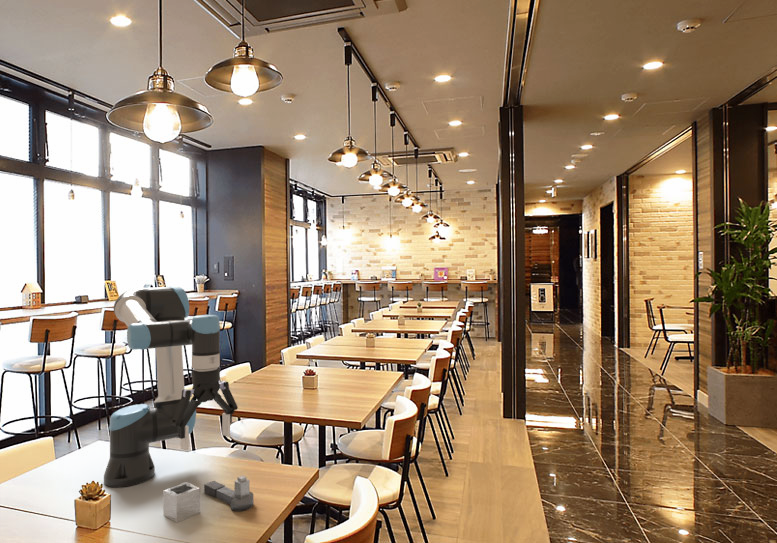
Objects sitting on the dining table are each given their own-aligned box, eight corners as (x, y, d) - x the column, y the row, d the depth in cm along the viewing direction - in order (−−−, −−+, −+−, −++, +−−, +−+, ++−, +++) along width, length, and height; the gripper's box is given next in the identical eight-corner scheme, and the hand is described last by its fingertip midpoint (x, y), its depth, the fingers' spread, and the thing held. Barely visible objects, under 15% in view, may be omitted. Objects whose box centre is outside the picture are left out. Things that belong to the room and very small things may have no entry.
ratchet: (199, 494, 149) (199, 466, 149) (218, 487, 154) (217, 460, 154) (239, 513, 137) (239, 483, 137) (257, 505, 142) (257, 476, 142)
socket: (163, 515, 136) (163, 490, 137) (186, 505, 142) (186, 481, 142) (176, 522, 132) (176, 497, 132) (200, 512, 138) (199, 487, 138)
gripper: (172, 378, 127) (173, 458, 127) (249, 363, 148) (249, 432, 148) (157, 374, 132) (157, 452, 132) (233, 360, 152) (234, 428, 152)
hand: (206, 442), depth 140 cm, fingers open, 13 cm apart
